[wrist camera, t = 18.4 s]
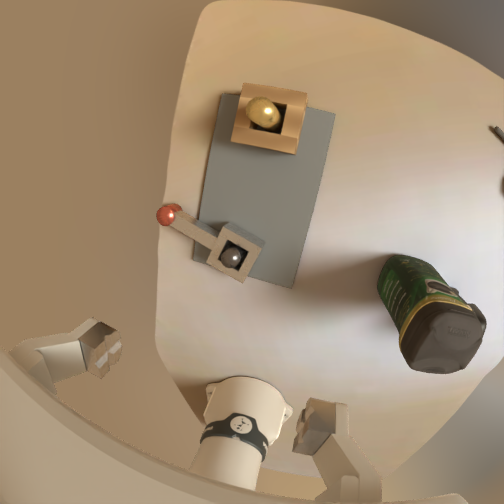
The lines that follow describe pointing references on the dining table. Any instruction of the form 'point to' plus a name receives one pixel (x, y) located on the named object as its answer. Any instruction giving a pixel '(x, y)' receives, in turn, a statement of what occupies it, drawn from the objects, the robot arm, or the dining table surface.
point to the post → (232, 256)
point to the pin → (264, 114)
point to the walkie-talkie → (499, 132)
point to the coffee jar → (428, 317)
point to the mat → (265, 190)
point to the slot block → (281, 99)
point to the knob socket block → (214, 239)
